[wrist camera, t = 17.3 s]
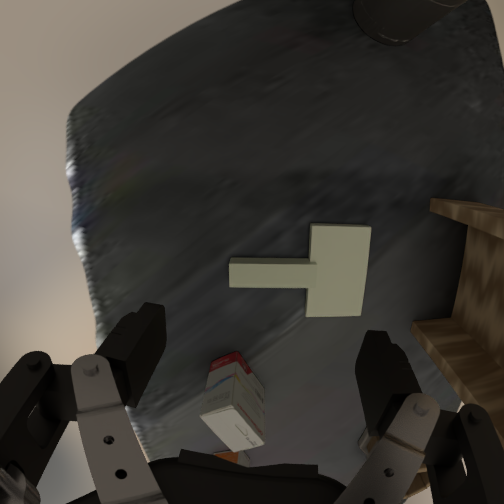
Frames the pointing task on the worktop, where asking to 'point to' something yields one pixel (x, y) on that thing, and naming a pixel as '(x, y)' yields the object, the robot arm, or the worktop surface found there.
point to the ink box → (234, 403)
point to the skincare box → (235, 457)
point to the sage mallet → (316, 270)
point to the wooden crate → (473, 313)
